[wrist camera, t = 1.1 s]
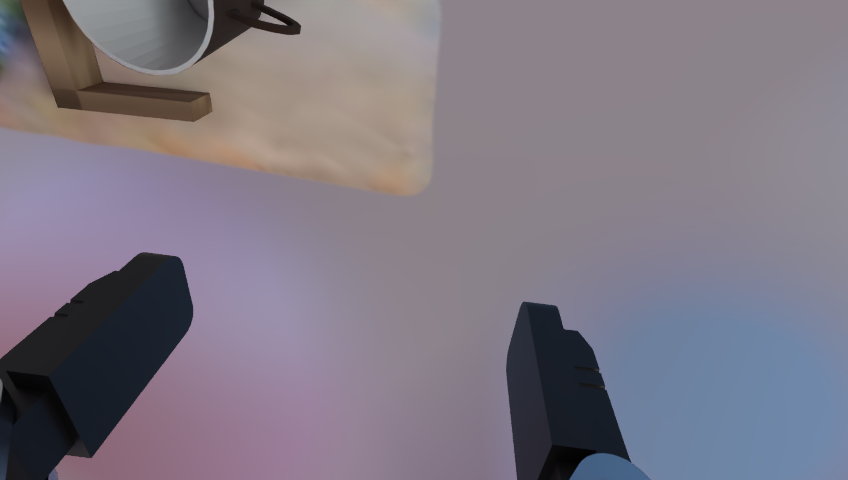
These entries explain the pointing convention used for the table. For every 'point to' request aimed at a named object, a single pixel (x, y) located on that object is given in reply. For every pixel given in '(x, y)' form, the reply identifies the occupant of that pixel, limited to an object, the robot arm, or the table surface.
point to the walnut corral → (97, 72)
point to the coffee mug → (169, 29)
